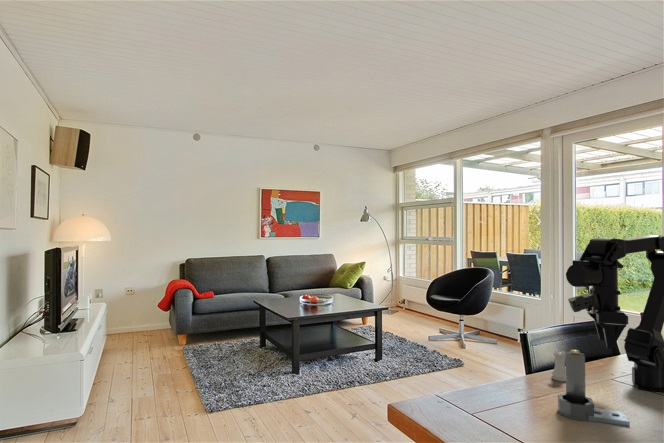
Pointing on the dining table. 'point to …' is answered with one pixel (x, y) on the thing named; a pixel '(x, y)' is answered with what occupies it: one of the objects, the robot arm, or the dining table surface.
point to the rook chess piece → (559, 367)
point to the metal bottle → (575, 377)
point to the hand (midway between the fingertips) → (605, 344)
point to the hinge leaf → (590, 412)
